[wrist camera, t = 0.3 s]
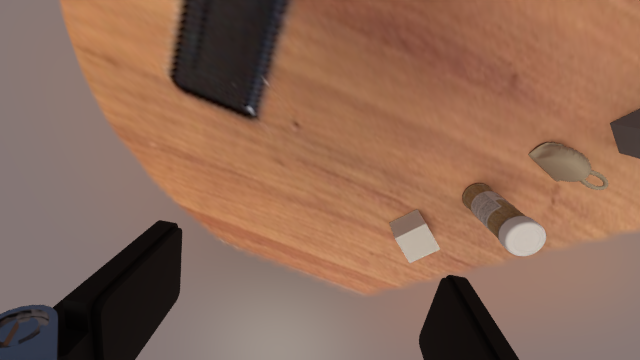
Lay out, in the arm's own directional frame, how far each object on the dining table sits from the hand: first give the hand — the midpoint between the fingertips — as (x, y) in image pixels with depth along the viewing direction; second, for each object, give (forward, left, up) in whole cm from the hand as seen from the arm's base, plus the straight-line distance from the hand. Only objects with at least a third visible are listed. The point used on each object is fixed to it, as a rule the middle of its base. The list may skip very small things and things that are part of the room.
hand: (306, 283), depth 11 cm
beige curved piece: (-3, +34, -37) cm, 50 cm away
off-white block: (+13, +17, -36) cm, 42 cm away
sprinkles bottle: (+5, +25, -37) cm, 45 cm away
